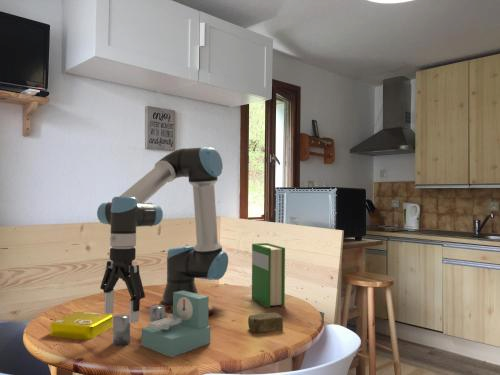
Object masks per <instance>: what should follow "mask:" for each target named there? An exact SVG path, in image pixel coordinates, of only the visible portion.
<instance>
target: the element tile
mask: <svg viewBox="0 0 500 375" xmlns="http://www.w3.org/2000/svg"><path fill="white" fill-rule="evenodd" d="M113 317H114V315H113V313H110V314H104V313H100V312H99V313H98V312H85V311H75V312H73V313H72V312H71V313H70V314H68V315H66V316H63V317H61V318H58V319H57V320H55V321H52V322H50V324H49V325H50V326H49V336H50V335H51V336H50V337H52V336H55V337H54V338H63V339H64V338H65V339H74V340H91V339H94V338H95V337H97V336H99V335H101V334H103V333H105V332H106V331H108V330H109V329H112V328H113Z"/></svg>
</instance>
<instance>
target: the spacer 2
mask: <svg viewBox="0 0 500 375" xmlns="http://www.w3.org/2000/svg"><path fill="white" fill-rule="evenodd" d="M164 318H166V306H165V305H162V304H157V305H156V304H155V305H151V306H150V307H149V322H153V321H157V320H161V319H164Z"/></svg>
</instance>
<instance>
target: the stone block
mask: <svg viewBox="0 0 500 375" xmlns="http://www.w3.org/2000/svg"><path fill="white" fill-rule="evenodd" d="M247 318H248V319H247V324H248V328H249V330H250V331H251V332H252V333H254V334H261V333H262V334H263V333H268V332H270V333H271V332H279V331H283V328H284V323H283V322H284V318H283V316H282V315H281V314H279V313H278V312H276V311H275V312H268V313H267V312H265V313H259V314H252V315H250V314H249V316H248V317H247Z"/></svg>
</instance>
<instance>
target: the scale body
mask: <svg viewBox="0 0 500 375" xmlns="http://www.w3.org/2000/svg"><path fill="white" fill-rule="evenodd" d="M172 316H175V317H179V318H182V323H179V324H175V325H172V326H170V331H169V332H162V329H158V330H157V329H154V328H151V327H149V326H146V327H142V328H141V346H143V347H145V348H147V349H150V350H151V351H154V352H157V353H159V354H162V355H164V356H167V357H169V358H174V357H176V356H179V355H182V354H184V353H187V352H190V351H193V350H196V349H198V348H199V349H200V348H201V347H203V346H207V345H209V344H211V326H210V325H209V296H207V295H205V294H199V293H198V294H196V293H191V292H187V291H178V292H174V293H173V305H172Z"/></svg>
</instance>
